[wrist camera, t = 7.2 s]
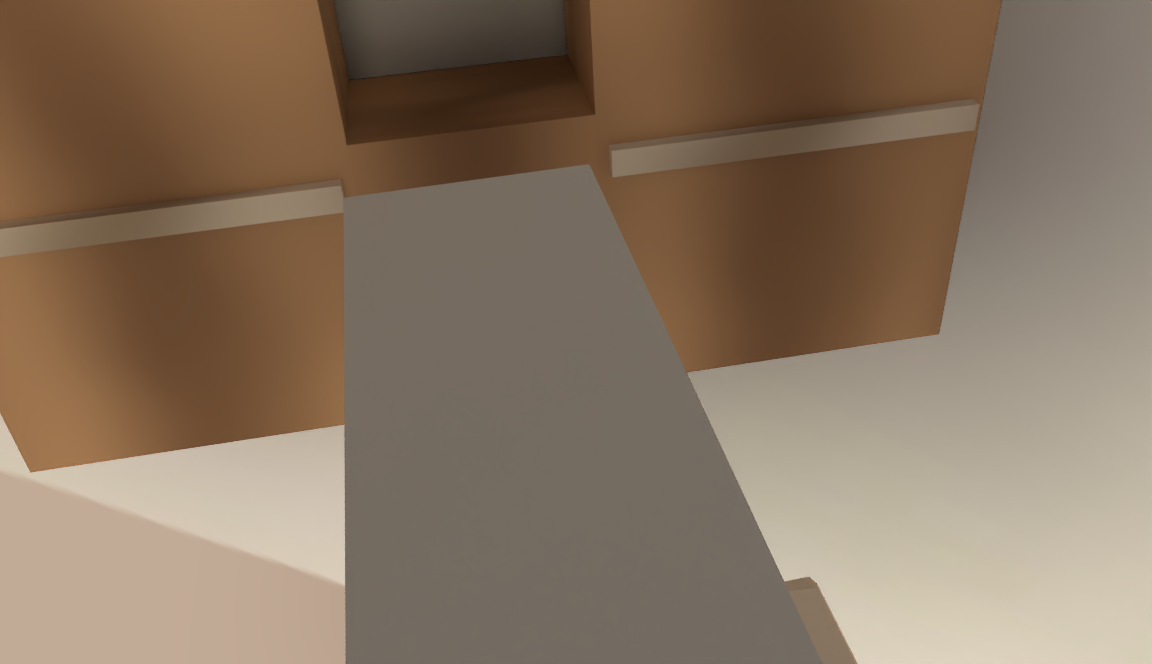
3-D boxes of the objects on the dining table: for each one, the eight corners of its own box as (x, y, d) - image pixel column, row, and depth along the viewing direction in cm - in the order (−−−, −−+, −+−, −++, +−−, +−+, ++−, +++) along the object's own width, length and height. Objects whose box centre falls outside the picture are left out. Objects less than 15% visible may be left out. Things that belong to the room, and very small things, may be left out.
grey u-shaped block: (588, 163, 12) (824, 667, 6) (612, 596, 17) (761, 1125, 11) (343, 198, 12) (346, 765, 6) (434, 629, 17) (488, 1197, 11)
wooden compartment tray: (949, -222, 21) (1047, -195, 18) (881, 262, 28) (944, 340, 25) (-157, -121, 19) (-257, -72, 16) (66, 379, 26) (27, 481, 23)
